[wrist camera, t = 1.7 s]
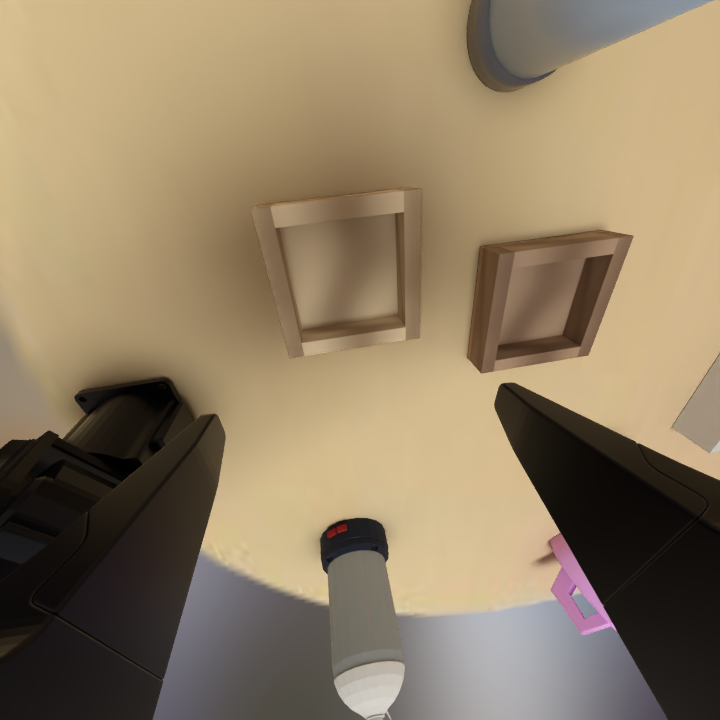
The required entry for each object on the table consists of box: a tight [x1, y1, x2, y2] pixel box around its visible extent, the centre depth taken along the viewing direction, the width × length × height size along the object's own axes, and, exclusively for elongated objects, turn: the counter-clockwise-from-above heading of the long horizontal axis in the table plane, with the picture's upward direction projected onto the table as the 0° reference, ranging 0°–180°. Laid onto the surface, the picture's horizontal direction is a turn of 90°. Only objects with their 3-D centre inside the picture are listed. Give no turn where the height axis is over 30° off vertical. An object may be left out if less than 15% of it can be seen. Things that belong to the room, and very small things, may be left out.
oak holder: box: [250, 188, 422, 358], centre depth 19 cm, size 9×9×2 cm
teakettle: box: [550, 534, 617, 635], centre depth 42 cm, size 17×17×12 cm
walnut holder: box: [467, 230, 633, 373], centre depth 22 cm, size 9×9×2 cm
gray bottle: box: [320, 518, 405, 720], centre depth 27 cm, size 8×8×25 cm
